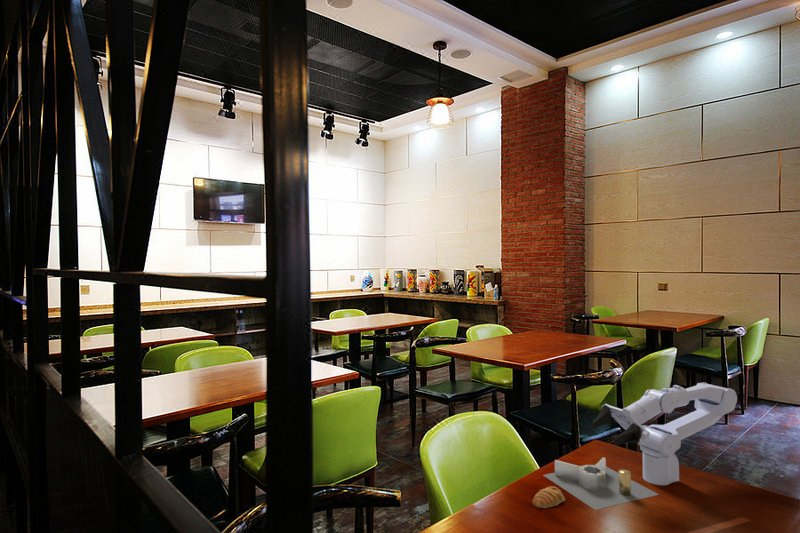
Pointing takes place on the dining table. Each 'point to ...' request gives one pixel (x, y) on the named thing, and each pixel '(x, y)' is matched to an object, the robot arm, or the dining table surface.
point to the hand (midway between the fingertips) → (603, 433)
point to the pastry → (548, 497)
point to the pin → (625, 482)
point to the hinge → (584, 474)
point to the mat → (605, 496)
